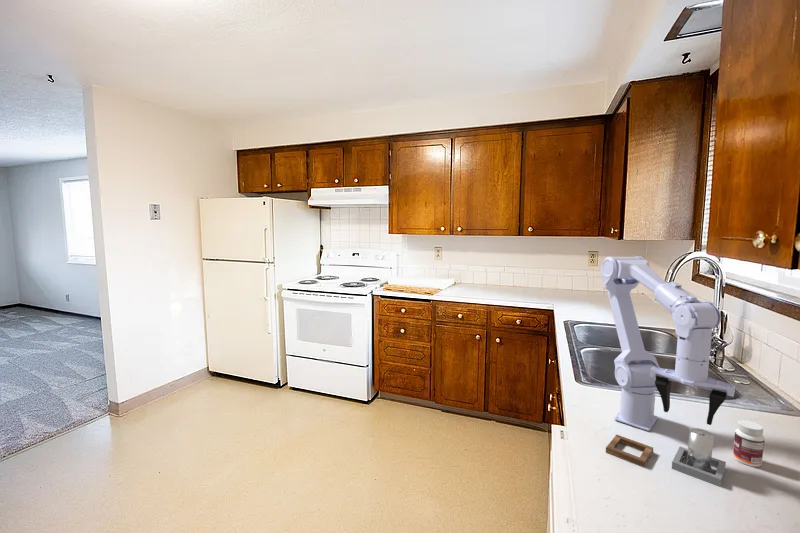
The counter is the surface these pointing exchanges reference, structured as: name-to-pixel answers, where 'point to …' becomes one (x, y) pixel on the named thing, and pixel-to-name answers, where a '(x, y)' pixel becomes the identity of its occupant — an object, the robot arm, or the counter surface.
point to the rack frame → (699, 473)
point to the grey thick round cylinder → (700, 449)
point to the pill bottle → (749, 443)
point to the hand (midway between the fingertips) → (687, 416)
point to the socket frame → (626, 456)
